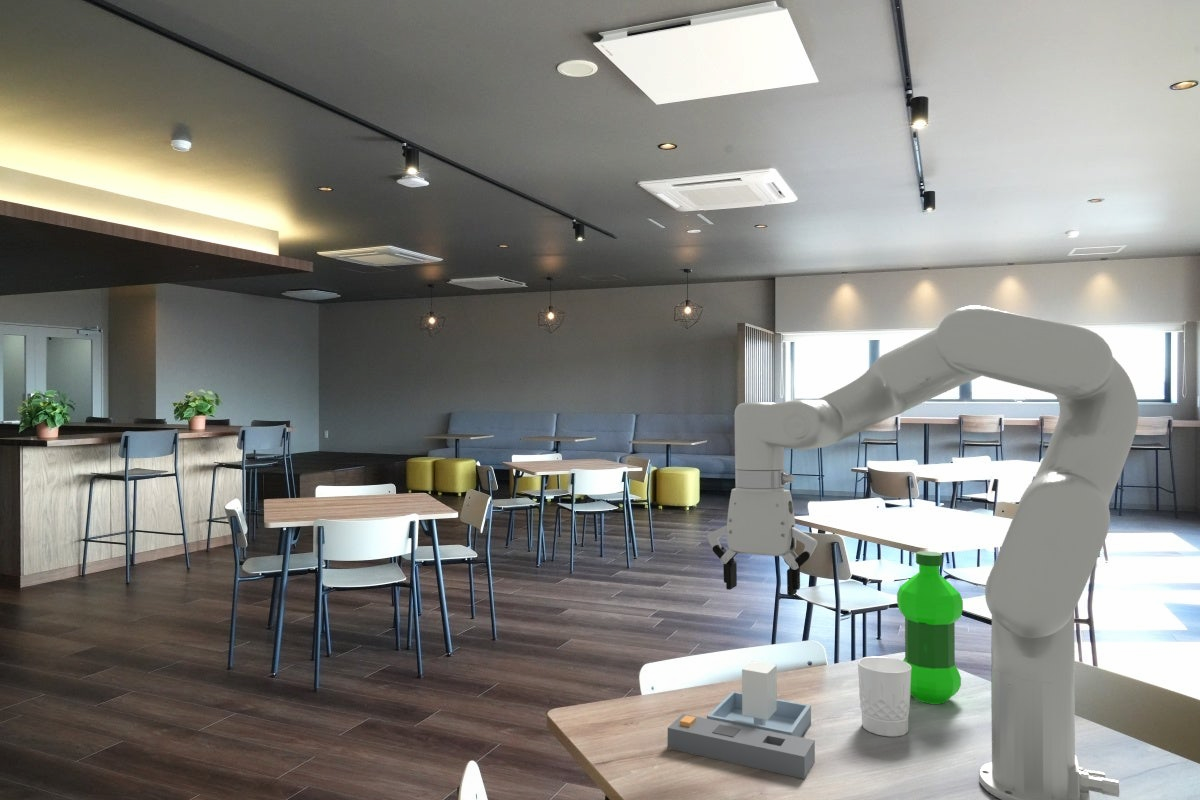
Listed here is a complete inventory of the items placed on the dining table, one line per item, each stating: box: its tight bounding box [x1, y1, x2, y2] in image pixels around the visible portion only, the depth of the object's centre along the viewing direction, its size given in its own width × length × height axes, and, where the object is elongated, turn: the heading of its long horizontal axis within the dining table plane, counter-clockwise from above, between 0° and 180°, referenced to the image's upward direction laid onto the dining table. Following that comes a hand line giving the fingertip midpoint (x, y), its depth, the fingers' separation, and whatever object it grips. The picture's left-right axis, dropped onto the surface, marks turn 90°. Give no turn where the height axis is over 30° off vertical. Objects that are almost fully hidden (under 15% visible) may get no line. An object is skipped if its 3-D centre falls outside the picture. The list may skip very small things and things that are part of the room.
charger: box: [741, 660, 778, 726], centre depth 120 cm, size 4×5×9 cm
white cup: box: [857, 655, 911, 738], centre depth 121 cm, size 8×8×10 cm
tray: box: [706, 690, 812, 738], centre depth 120 cm, size 13×12×3 cm
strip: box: [667, 713, 816, 780], centre depth 111 cm, size 20×6×4 cm, turn 62°
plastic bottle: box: [896, 550, 964, 705], centre depth 134 cm, size 10×10×25 cm
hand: (761, 590), depth 120 cm, fingers open, 9 cm apart
